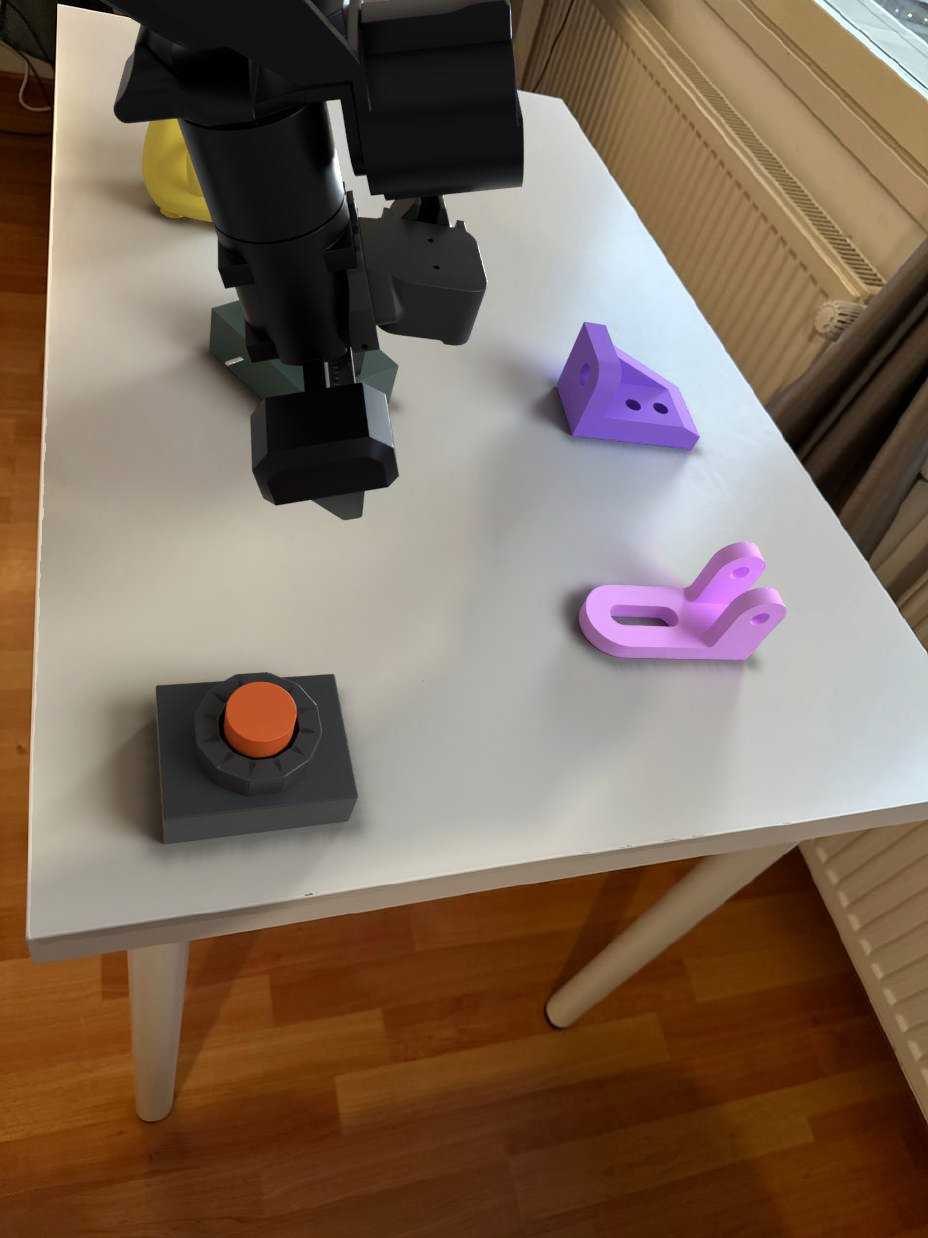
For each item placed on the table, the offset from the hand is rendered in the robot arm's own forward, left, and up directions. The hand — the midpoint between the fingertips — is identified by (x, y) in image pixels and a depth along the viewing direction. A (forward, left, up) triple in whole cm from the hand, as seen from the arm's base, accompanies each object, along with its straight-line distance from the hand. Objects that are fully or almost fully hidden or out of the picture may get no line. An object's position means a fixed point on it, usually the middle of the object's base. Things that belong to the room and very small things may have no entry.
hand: (345, 454), depth 50 cm
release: (+3, -14, -12) cm, 19 cm away
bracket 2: (+24, +10, -12) cm, 28 cm away
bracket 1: (+16, +33, -12) cm, 38 cm away
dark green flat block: (-10, +19, -12) cm, 25 cm away
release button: (+3, -14, -8) cm, 16 cm away
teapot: (-29, +37, -12) cm, 48 cm away
